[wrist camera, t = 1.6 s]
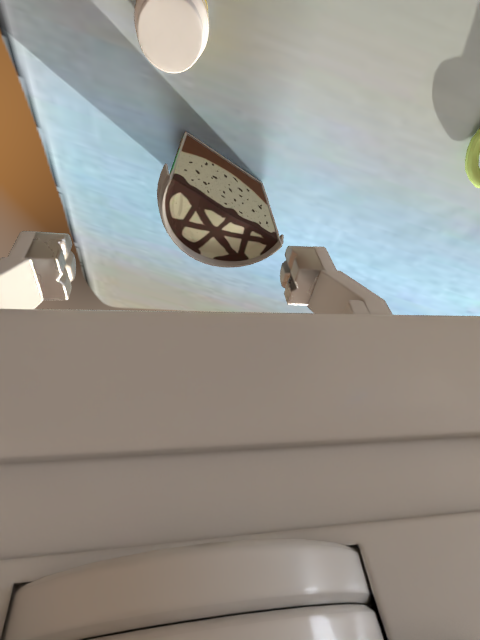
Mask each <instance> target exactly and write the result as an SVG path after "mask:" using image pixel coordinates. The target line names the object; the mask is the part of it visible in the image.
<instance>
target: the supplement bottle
mask: <svg viewBox="0 0 480 640" xmlns="http://www.w3.org/2000/svg"><path fill="white" fill-rule="evenodd" d="M134 21H135V28H136V32H137V37H138V41H139V44H140V47H141V49H142V51H143V53H144V55H145V56H146V58H147V59H148V60H149V61H150V62H151V63H152V64H153V65H154V66H155V67H157V68H158V69H160V70H162V71H165V72H168V73H180V72H183V71H185V70H187V69H189V68H190V67H191V66H192V65H193V64H194V63H195V62H196V61H197V59H198V58H199V57H200V55H201V54H202V52H203V50H204V48H205V46H206V43H207V40H208V33H209V20H208V6H207V0H137V1H136V5H135V12H134Z"/></svg>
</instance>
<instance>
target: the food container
mask: <svg viewBox="0 0 480 640" xmlns="http://www.w3.org/2000/svg"><path fill="white" fill-rule="evenodd" d="M157 199H158V207H159V211H160V215H161V219H162V223H163V225H164V227H165V229H166V231H167V233H168V234H169V236H170V237H171V239H172V240H173V242H174V243H175V244H176V245H177V246H178V247H179V248H180V249H181V250H182V251H183V252H185V253H186V254H187V255H188V256H190V257H192V258H194V259H195V260H198V261H200V262H202V263H205V264H209V265H212V266H218V267H241V266H246V265H251V264H253V263H256V262H259V261H261V260H263V259H265V258H267V257H269V256H270V255H272V254H273V253H275V252H276V251H277V250H279V249H280V248H281V247H282V244H283V235H281V236H279V233H278V230H277V227H276V224H275V220H274V217H273V214H272V211H271V208H270V205H269V201H268V198H267V195H266V192H265V189H264V186H263V183H262V182H260V181H259V180H258V179H256V178H255V177H253V176H252V175H250V174H249V173H247V172H246V171H244V170H243V169H241V168H240V167H238V166H237V165H235V164H234V163H232V162H231V161H229V160H228V159H226V158H225V157H224V156H222V155H221V154H219V153H218V152H216V151H215V150H213V149H212V148H210V147H209V146H207V145H206V144H204V143H203V142H201V141H200V140H198V139H197V138H195V137H194V136H192V135H191V134H190V133H188V132H187V131H185V133H184V135H183V138H182V140H181V142H180V145H179V148H178V151H177V154H176V156H175V159H174V162H173V165H172V168H171V171H170V174H169V171H168V167H167V164H166V163H165V165H164V167H163V169H162V171H161V174H160V178H159V182H158V189H157Z"/></svg>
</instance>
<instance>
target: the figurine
mask: <svg viewBox="0 0 480 640" xmlns="http://www.w3.org/2000/svg"><path fill="white" fill-rule="evenodd" d="M479 154H480V128H479V129H478V131H477V132H476V134H475V135H474V136H473V138H472V139H471V141H470V144H469V146H468V149H467V153H466V159H465V170H466V173H467V175H468V178H469V180H470V181H471V182H472V183H473V184H474V186H475V187H477V188H480V168H479V166H478V162H479Z"/></svg>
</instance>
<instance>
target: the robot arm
mask: <svg viewBox="0 0 480 640" xmlns="http://www.w3.org/2000/svg"><path fill="white" fill-rule="evenodd" d="M71 246H72V242H71V238H70V236H69V235H68V234H60V233H47V232H46V233H45V232H31V231H22V232H20V234H19V236H18V237H17V239H16V241H15V243H14V245H13V247H12V249H11V251H10V253H9V255H8V257H7V258H5V257H2V258H0V640H480V316H434V315H393V314H392V312H391V311H390V309H389V307H388V305H387V304H386V302H385V300H383V299H382V298H380V297H379V296H377V295H376V294H374V293H373V292H371V291H370V290H368V289H367V288H365V287H364V286H362V285H361V284H359V283H358V282H356V281H355V280H353V279H352V278H350V277H349V276H347V275H346V274H344V273H343V272H341V271H337V270H336V268H335V266H334V264H333V262H332V260H331V258H330V256H329V254H328V252H327V250H326V248H325V247H303V246H288V247H287V249H286V252H285V257H286V261H285V262H284V263H282V266H281V271H280V281H281V285H282V287H284V288H285V292H284V295H285V298H286V301H287V304H288V305H307V307H308V308H309V309H310V310H311V311H312V312H314V313H315V314H310V313H245V312H181V311H116V310H115V311H114V310H53V309H34V308H36V307H37V306H38V305H39V304H40V303H41V302H43V300H68V298H69V295H70V292H71V288H72V287H71V283H70V282H71V281H73V280H74V278H75V273H76V262H75V256H74V254H73V253H72V252H71V251H70V249H71Z"/></svg>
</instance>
